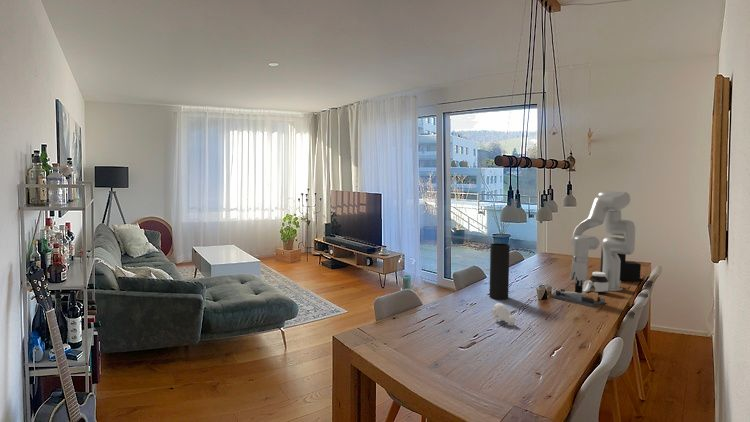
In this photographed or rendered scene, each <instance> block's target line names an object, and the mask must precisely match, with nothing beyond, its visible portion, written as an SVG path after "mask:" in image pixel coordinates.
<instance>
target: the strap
mask: <svg viewBox="0 0 750 422" xmlns="http://www.w3.org/2000/svg"><path fill="white" fill-rule="evenodd" d="M559 291H560V294H578V295H587V292H585V291H582V293H577V292H575V291H569V290H568V291H566V290H565V291H561V290H559Z"/></svg>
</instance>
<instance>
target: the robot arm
mask: <svg viewBox="0 0 750 422" xmlns="http://www.w3.org/2000/svg"><path fill="white" fill-rule="evenodd" d="M630 203H631V196H630V194H629V193H628V192H627V191H616V190H615V191H613V190H610V191H609V190H606V191H605V190H604V191H599V192H598V194H597V196H596V197H595V198H594V199H593V201H592V203H591V207H590V210H589V211H588V215H587V217H586V218H585V219H584V220H582V221H581V222H580V223H579V224H577V226H576V227H575V228H574V231H573V232H572V236H571V240H570V241H571V242H570V243H571V246H572V250H573V252H572V262H571V263H572V264H571V267H570V279H569V280H572V283H574V286H575V287H574V292H577V293H582V292H583V285H584V282H585V281H586V280H587V278H588V262H589V250H590V251H594V250H597V249H598V248H599V246H600V239H599V238H598V237H597V236H593V235H584V234H583V233H584V232H586V231H587V230H590V229H592V228H596V227H599V226H601V225H602V224H604V231H605V233H606V234H607V235H611V236H606V237H604V238H603V239H602V241H601V250H602V249H603V271H602V272H603V273H605V277H606V278H607V279H608V291H610V292H620V291H623V287H622V286H621V285H620V284H622V281H620V265H621V260H620V258H619V256H618V254H626V256H627V255H632V254H634V251H635V247H636V225H635V223H634V222H633V221H632V220H628V219H622V210H623V209H625V208H626V207H628V205H629V204H630ZM618 236H621V237H618Z"/></svg>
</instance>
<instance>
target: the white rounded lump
mask: <svg viewBox="0 0 750 422" xmlns="http://www.w3.org/2000/svg"><path fill="white" fill-rule="evenodd" d="M491 312H492V316H493V319H494V323H498V321H503V322H504V321H505V322H506V324H507V326H511V327H513V326H514V325H515V323H516V318H515V316H514V315H511V312H510V311H509V309H508V308H507V306H506V305H505V304H504V303H499V302H497V303H495V304H494V305H493V307H492V309H491Z"/></svg>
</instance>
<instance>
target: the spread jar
mask: <svg viewBox="0 0 750 422" xmlns="http://www.w3.org/2000/svg"><path fill="white" fill-rule="evenodd" d="M589 291H590V293H591V292H596V293H598V295H604V294H606V293H607V292H608V291H609V290H608V279H607V278H606V277H605V273H603V272H600V271H593V272H592V275H590V277H589V279H588V280H587V279H585V281H584V282H583V285H582V292H586V293H589Z"/></svg>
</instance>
